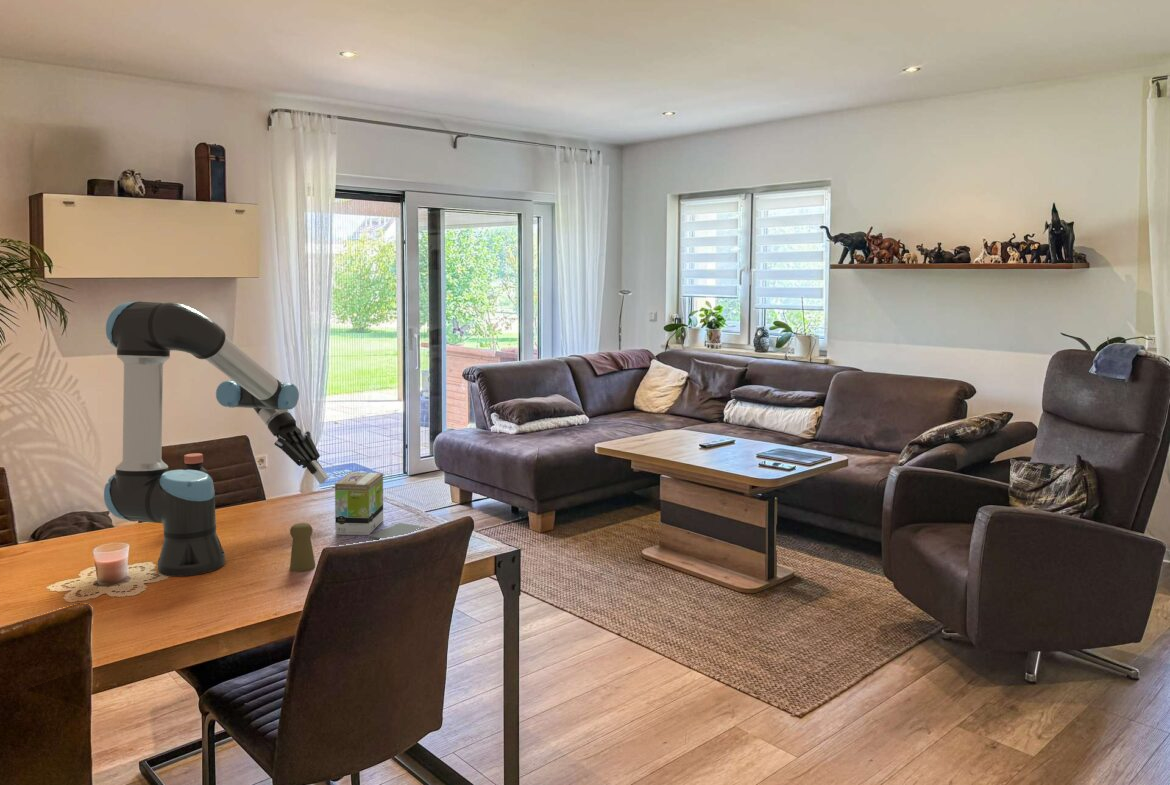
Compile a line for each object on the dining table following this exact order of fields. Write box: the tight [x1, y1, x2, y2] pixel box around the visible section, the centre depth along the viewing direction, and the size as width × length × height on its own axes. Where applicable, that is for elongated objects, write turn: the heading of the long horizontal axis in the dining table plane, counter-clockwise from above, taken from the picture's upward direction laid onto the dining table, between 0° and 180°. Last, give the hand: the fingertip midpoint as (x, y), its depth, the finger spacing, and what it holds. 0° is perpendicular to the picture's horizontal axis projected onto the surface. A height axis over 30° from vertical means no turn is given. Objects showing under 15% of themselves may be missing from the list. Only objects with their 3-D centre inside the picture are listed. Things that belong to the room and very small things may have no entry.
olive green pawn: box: [289, 522, 316, 573], centre depth 209 cm, size 6×6×11 cm
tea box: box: [334, 472, 384, 536], centre depth 242 cm, size 15×10×15 cm
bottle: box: [183, 452, 208, 474], centre depth 246 cm, size 7×7×20 cm
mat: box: [368, 522, 428, 540], centre depth 237 cm, size 14×10×1 cm
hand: (324, 480), depth 247 cm, fingers closed
